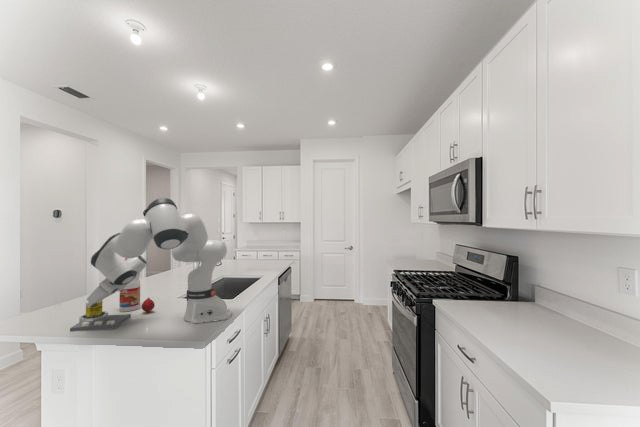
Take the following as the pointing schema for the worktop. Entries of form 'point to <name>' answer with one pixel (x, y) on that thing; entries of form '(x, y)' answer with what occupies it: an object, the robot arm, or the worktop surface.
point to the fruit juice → (130, 295)
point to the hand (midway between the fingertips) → (92, 303)
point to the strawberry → (148, 305)
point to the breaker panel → (102, 323)
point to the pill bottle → (94, 310)
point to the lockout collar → (93, 320)
